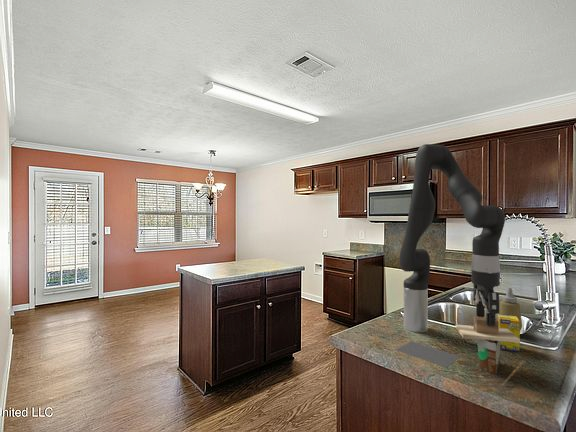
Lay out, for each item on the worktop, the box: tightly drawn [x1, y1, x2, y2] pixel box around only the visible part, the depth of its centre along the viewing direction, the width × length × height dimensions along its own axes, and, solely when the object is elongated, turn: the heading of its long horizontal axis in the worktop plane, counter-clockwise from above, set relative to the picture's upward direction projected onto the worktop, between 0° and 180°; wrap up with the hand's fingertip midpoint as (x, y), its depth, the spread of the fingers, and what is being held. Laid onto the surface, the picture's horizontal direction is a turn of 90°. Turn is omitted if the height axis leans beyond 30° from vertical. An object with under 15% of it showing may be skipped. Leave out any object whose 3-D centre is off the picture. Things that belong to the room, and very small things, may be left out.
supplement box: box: [496, 314, 521, 353], centre depth 112 cm, size 6×6×11 cm
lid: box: [455, 316, 521, 344], centre depth 98 cm, size 9×15×5 cm, turn 75°
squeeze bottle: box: [499, 287, 523, 331], centre depth 126 cm, size 8×8×18 cm
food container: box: [474, 339, 501, 376], centre depth 98 cm, size 12×6×10 cm, turn 140°
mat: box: [395, 340, 461, 368], centre depth 107 cm, size 11×17×1 cm, turn 41°
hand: (485, 321), depth 98 cm, fingers open, 8 cm apart
